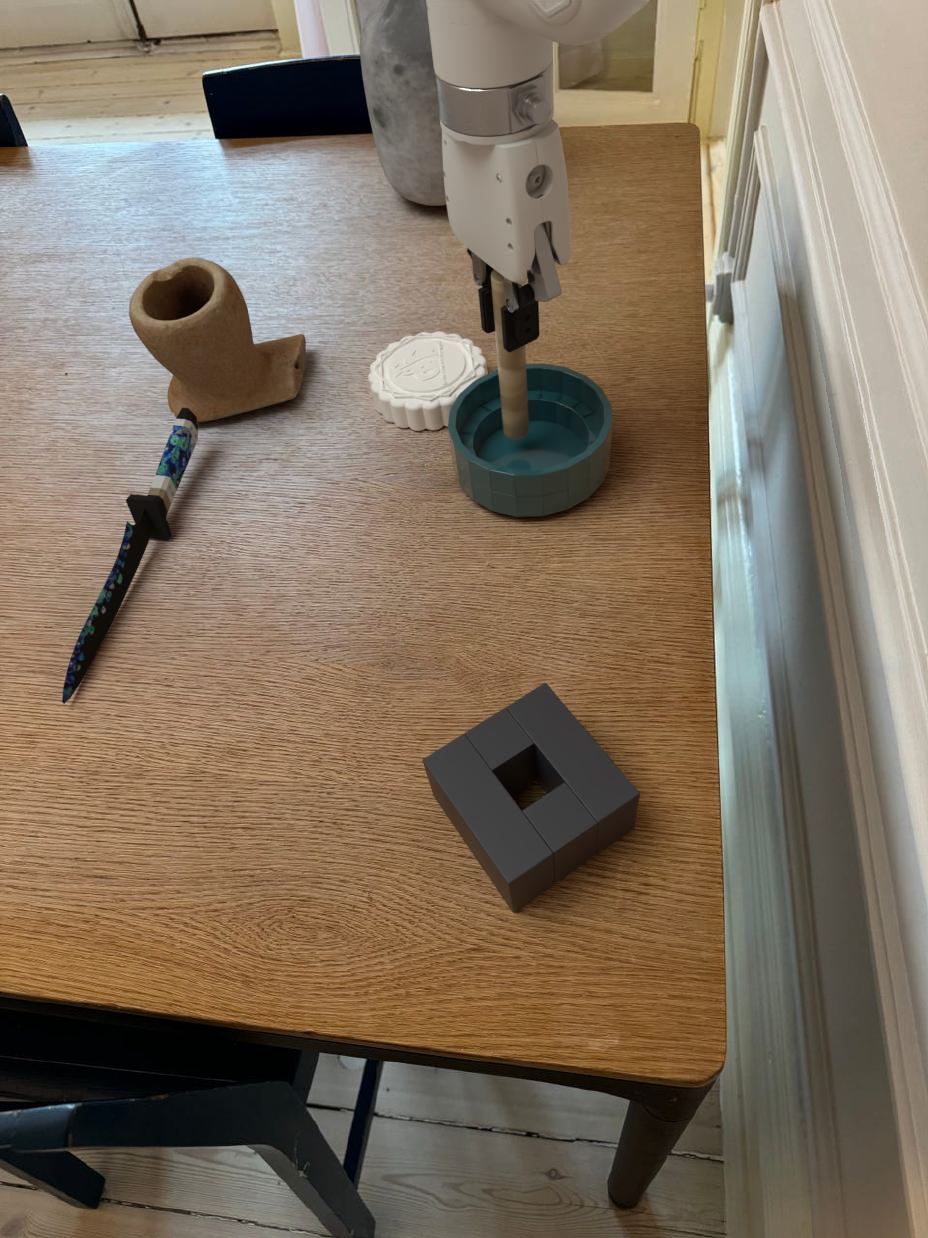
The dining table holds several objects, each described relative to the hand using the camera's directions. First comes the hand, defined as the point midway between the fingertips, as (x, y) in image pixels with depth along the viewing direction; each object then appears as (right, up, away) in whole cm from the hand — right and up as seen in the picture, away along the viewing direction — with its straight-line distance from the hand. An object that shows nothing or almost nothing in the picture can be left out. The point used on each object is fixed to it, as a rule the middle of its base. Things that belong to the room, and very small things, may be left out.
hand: (510, 333), depth 70 cm
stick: (+1, -6, +9) cm, 11 cm away
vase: (-6, +31, +40) cm, 51 cm away
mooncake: (-7, 0, +18) cm, 19 cm away
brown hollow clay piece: (-27, 0, +20) cm, 34 cm away
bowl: (+3, -9, +10) cm, 14 cm away
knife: (-33, -18, +8) cm, 39 cm away
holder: (+1, -37, -10) cm, 38 cm away
